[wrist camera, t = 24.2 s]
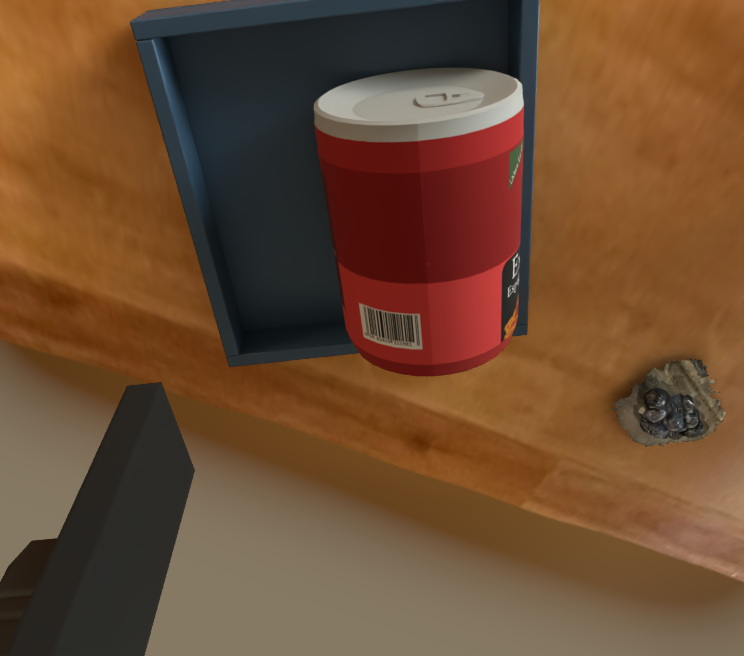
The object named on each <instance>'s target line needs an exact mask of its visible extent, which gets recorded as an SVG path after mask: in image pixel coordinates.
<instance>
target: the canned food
mask: <svg viewBox="0 0 744 656" xmlns="http://www.w3.org/2000/svg"><path fill="white" fill-rule="evenodd" d="M522 92H523V89H522V84H521V83H520V82H519V81H518V80H517V79H515V78H513V77H511V76H509V75H506V74H503V73H499V72H495V71H490V70H483V69H473V68H429V69H416V70H408V71H399V72H393V73H387V74H381V75H376V76H372V77H367V78H363V79H360V80H356V81H352V82H349V83H347V84H344V85H341V86H338V87H336V88H334V89H332V90H330V91H328V92H327V93H325V94H324V95H322V96H321V97H319V98H318V99H317V100H316V102H315V103H314V114H315V120H314V126H315V132H316V139H317V146H318V156H319V162H320V168H321V174H322V181H323V187H324V193H325V200H326V206H327V212H328V218H329V225H330V231H331V237H332V244H333V250H334V256H335V262H336V269H337V275H338V281H339V288H340V294H341V300H342V306H343V313H344V319H345V325H346V330H347V332H348V334H349V337H350V339H351V341H352V342H353V344H354V346H355V348H356V350H357V351H358V352H359V353H360V354H361V356H362V357H363V358H365V359H366V360H367V361H369V362H370V363H372V364H373V365H375V366H378V367H380V368H382V369H384V370H387V371H391V372H395V373H399V374H404V375H412V376H441V375H450V374H454V373H459V372H463V371H467V370H469V369H472V368H475V367H477V366H480V365H482V364H484V363H486V362H488V361H489V360H491V359H493V358H494V357H496V356H497V355H498V354H499V353H500V352H501V351H503V350H504V348H505V347H506V345H507V344H508V343H509V341H510V338H511V336H512V334H513V331H514V329H515V326H516V323H517V320H518V298H519V267H520V236H521V205H522V174H523V144H524V128H523V123H524V101H523V96H522Z"/></svg>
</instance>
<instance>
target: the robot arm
mask: <svg viewBox="0 0 744 656" xmlns="http://www.w3.org/2000/svg"><path fill="white" fill-rule="evenodd" d="M194 471H195V470H194V467H193V464H192V462H191V459H190V457H189V454H188V451H187V448H186V446H185V443H184V441H183V438H182V435H181V433H180V430H179V427H178V425H177V422H176V420H175V417H174V414H173V412H172V409H171V406H170V404H169V402H168V399H167V396H166V394H165V391H164V388H163V385H162V383H161V382H159V383H149V384H140V385H131V386H127V387H126V390H125V392H124V394H123V396H122V398H121V400H120V402H119V405H118V407H117V409H116V411H115V413H114V416H113V418H112V420H111V422H110V424H109V427H108V429H107V431H106V433H105V435H104V438H103V440H102V442H101V444H100V446H99V448H98V451H97V453H96V455H95V457H94V459H93V462H92V464H91V466H90V468H89V470H88V473H87V475H86V477H85V479H84V482H83V484H82V486H81V488H80V490H79V492H78V494H77V497H76V499H75V501H74V503H73V506H72V508H71V510H70V512H69V514H68V516H67V519H66V521H65V523H64V525H63V527H62V530H61V532H60V534H59V536H58V538H55V539H46V540H35V541H31V542H30V543H29V544H28V545H27V547H26V548H25V549H24V550H23V551H22V552H21V553H20V554H19V555H18V557H17V558H15V560H14V561H13V562H12V563H11V564H10V565H9V566H8V568H7V570H6V572H5V574H4V576H3V578H2V580H1V582H0V656H144V655H145V651H146V648H147V644H148V640H149V637H150V633H151V629H152V626H153V622H154V618H155V615H156V611H157V607H158V603H159V600H160V596H161V593H162V589H163V585H164V582H165V578H166V574H167V570H168V567H169V563H170V559H171V556H172V552H173V549H174V544H175V541H176V538H177V534H178V530H179V526H180V523H181V519H182V516H183V512H184V508H185V504H186V501H187V497H188V493H189V490H190V486H191V482H192V479H193V474H194Z"/></svg>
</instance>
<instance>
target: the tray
mask: <svg viewBox="0 0 744 656" xmlns="http://www.w3.org/2000/svg"><path fill="white" fill-rule="evenodd" d="M539 8H540V0H230V1H222V2H213V3H205V4H197V5H189V6H181V7H173V8H164V9H156V10H148V11H146V12H145V13H143V14H142V15H140V16H138V17H137V18H135V19H133V20H132V21H130V24H131V28H132V31H133V34H134V38H135V40H137V41H136V45H137V48H138V52H139V55H140V59H141V62H142V66H143V69H144V73H145V76H146V80H147V83H148V86H149V90H150V93H151V97H152V100H153V104H154V107H155V111H156V114H157V118H158V121H159V125H160V128H161V132H162V135H163V139H164V142H165V146H166V149H167V152H168V156H169V159H170V163H171V166H172V170H173V173H174V177H175V180H176V184H177V187H178V191H179V194H180V198H181V201H182V205H183V208H184V212H185V215H186V218H187V222H188V225H189V229H190V232H191V236H192V239H193V243H194V246H195V250H196V253H197V257H198V260H199V264H200V267H201V271H202V274H203V278H204V281H205V285H206V288H207V291H208V295H209V298H210V302H211V305H212V309H213V312H214V316H215V319H216V323H217V326H218V330H219V333H220V337H221V340H222V344H223V347H224V351H225V354H226V358H227V361H228V365H229V367H235V366H244V365H254V364H263V363H272V362H281V361H290V360H300V359H309V358H318V357H327V356H337V355H346V354H355V353H359V352H358V351H357V350H356V348H355V346H354V344H353V342H352V341H351V339H350V337H349V334H348V332H347V330H346V325H345V319H344V313H343V306H342V300H341V294H340V288H339V281H338V275H337V269H336V262H335V256H334V250H333V244H332V237H331V231H330V225H329V218H328V212H327V206H326V200H325V193H324V187H323V181H322V174H321V168H320V162H319V156H318V146H317V139H316V132H315V126H314V120H315V114H314V103H315V102H316V100H317V99H318V98H319V97H321V96H322V95H324V94H325V93H327V92H328V91H330V90H332V89H334V88H336V87H338V86H341V85H344V84H347V83H349V82H352V81H356V80H360V79H363V78H367V77H372V76H376V75H381V74H387V73H393V72H399V71H408V70H416V69H429V68H473V69H483V70H490V71H495V72H499V73H503V74H506V75H509V76H511V77H513V78H515V79H517V80H518V81H519V82H520V83H521V84H522V89H523V92H522V96H523V101H524V123H523V128H524V144H523V174H522V205H521V236H520V267H519V298H518V320H517V323H516V326H515V329H514V331H513V334H512V336H521V335H527V328H528V324H527V323H528V301H529V274H530V247H531V221H532V194H533V168H534V141H535V114H536V88H537V61H538V34H539ZM512 336H511V337H512Z"/></svg>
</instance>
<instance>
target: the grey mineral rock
mask: <svg viewBox="0 0 744 656" xmlns="http://www.w3.org/2000/svg"><path fill="white" fill-rule="evenodd" d="M702 364H703V363H702V360H698V361H696V359H695V360H692V359H689V360H687V359H686V361H685V360H683V361H681V360H680V361H678V360H677V361H674V362H673V361H671V362H670V363H669V362H668V363H667V364H666V366H665V368H664V370H660V369H659V368H655V369H654V370H653V369H651V370H650V371H649V372H648V374H646V375H645V379H644V381H643V382H642V384H637V383H635V385H636V386H635V387H633V388H632V389H631V390H634V391H633V392H632V394H631V395H630V396H629V397H627V398H621V399H619V400H620V401H619V402H618V401H617V403H615V402H614V403H613V404H614V405H615V406H616V408H612V410H615V411H618V414H617V416H616V417H617V418H618V419H619V420H618V421H619V423H620V424H619V425H621V426H622V427H623V428H622V429H623V430H628V432H629V433H628V434H626V435H630V436H631V438H632V440H634V441H635V442H636V443H639V444H640V443H641V444H643V445H645V446H646V447H647V446H653V445H656V444H659V446H664V444H668V443H669V442H670V441H672V442H673V443H674V442H676V443H678V442H680V441H682V442H685V441H686V442H687V441H696V440H699V439H703V438H704V437H705V436H707V435H708V434H709V433H711V431H716V430H715V429H716V426H717V425H718V424H720V423H721V422H722V421H723V420H722V419H723V416H724V415H725V414H726V413H725V412H726V411H725V412H724V411H721V409H723V408H720V406H719V405H720V404H719V402H720V400H718V399H716V398H712V397H710V394H711V393H716V392H715V391H714V392H711V389H709V388H710V385H709V384H711V383H712V384H713V383H716V379H715V380H714V379H712V378H711V379H710V380H707V379H708V376H709V375H708V374H707V371H705V370H706V368H707V365H702ZM718 393H720V392H718ZM639 430H641V431H639Z"/></svg>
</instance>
